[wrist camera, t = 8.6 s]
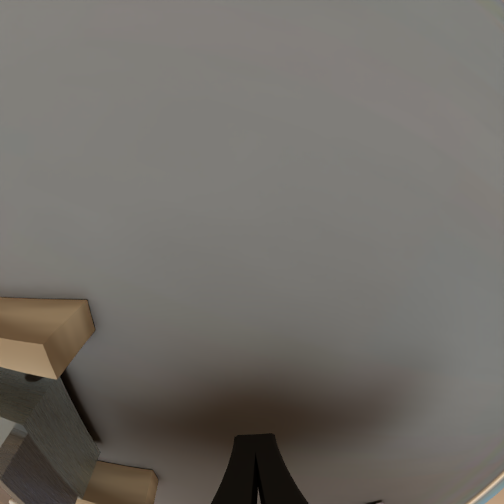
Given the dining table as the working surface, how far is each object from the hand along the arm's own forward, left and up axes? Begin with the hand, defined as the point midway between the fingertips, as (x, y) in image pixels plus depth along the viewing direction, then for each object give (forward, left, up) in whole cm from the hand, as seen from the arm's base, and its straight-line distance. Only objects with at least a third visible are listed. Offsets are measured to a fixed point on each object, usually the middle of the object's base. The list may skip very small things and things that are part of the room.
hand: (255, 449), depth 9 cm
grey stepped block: (0, +12, -2) cm, 12 cm away
